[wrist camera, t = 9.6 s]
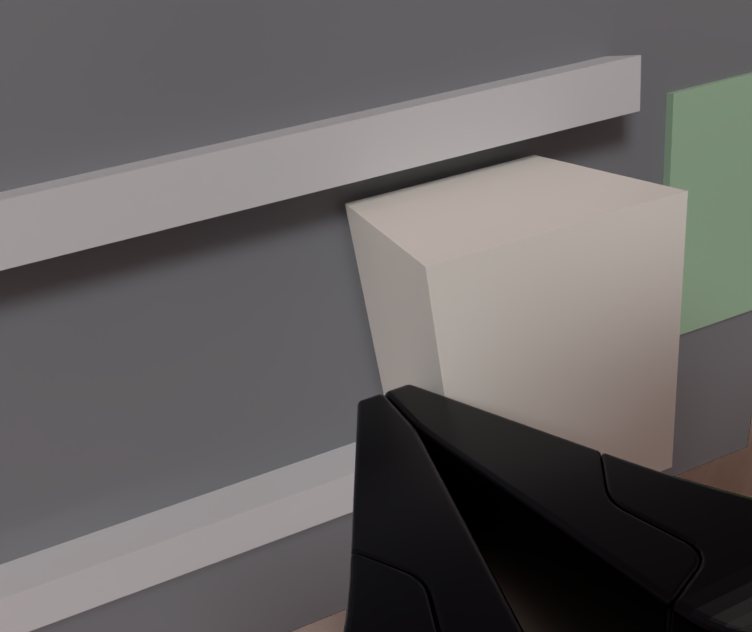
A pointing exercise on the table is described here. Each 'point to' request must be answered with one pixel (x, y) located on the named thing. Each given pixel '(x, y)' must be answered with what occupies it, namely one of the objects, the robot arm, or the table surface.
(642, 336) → the switch knob
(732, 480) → the table surface
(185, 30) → the slider switch base
